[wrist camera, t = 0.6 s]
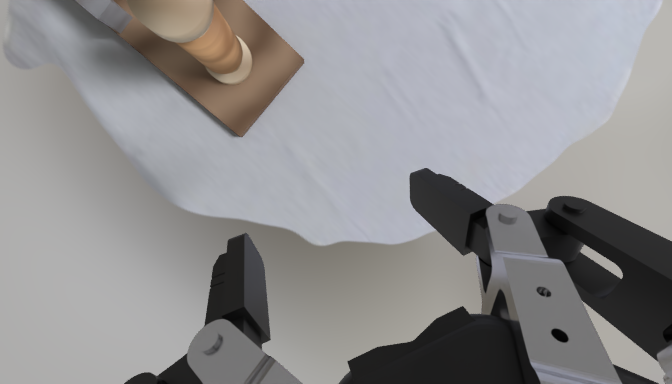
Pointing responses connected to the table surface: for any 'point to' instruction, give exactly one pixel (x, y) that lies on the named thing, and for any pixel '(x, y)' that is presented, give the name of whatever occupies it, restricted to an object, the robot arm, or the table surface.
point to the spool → (198, 35)
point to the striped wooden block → (191, 75)
